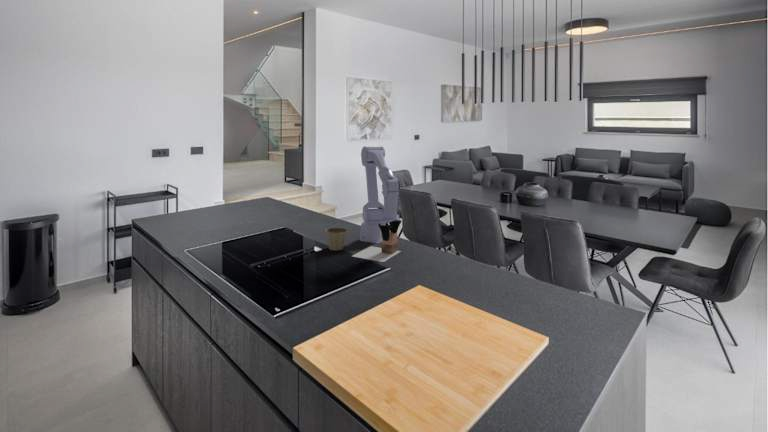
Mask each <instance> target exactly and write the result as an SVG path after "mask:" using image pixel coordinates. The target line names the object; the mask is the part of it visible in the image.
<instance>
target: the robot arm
mask: <svg viewBox="0 0 768 432" xmlns="http://www.w3.org/2000/svg"><path fill="white" fill-rule="evenodd" d="M360 157H361V164H362V166H363V167H364V169H365V179H366V189H367V190H366V191H367V202H366V203H365V204H364V205H363V207H362V220H363V221H362V222H361V224H360V225H361V226H360V231H359V232H360V237H359V238H360V239H359V241H360V242H364V243H365V242H366V243H371V244H380V243H382V237H383V240H384V241H388V240H389V234H390V233H397V234H398V230H399V227H400V225H401V223H402V220H401V219H400V214H398V198H399V195H398V194H399V192H400V191H401V187H402V186H401V181H400V179H399V178H397V177H396V176H395V175H394V173H393V171H392V169H391V167H389V166H387V163H386V160H385V157H386V150H385V148H384V147H383V146H366V145H365V146H362V148H361V152H360ZM377 169H378V172H377ZM377 174H378V175H377ZM377 176H378V177H379V179H380V181H381V187H382V188H381V189H382V195H383V203H381V202H380V201H379V191H378V189H379V187H378V179H377V178H378V177H377Z"/></svg>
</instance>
